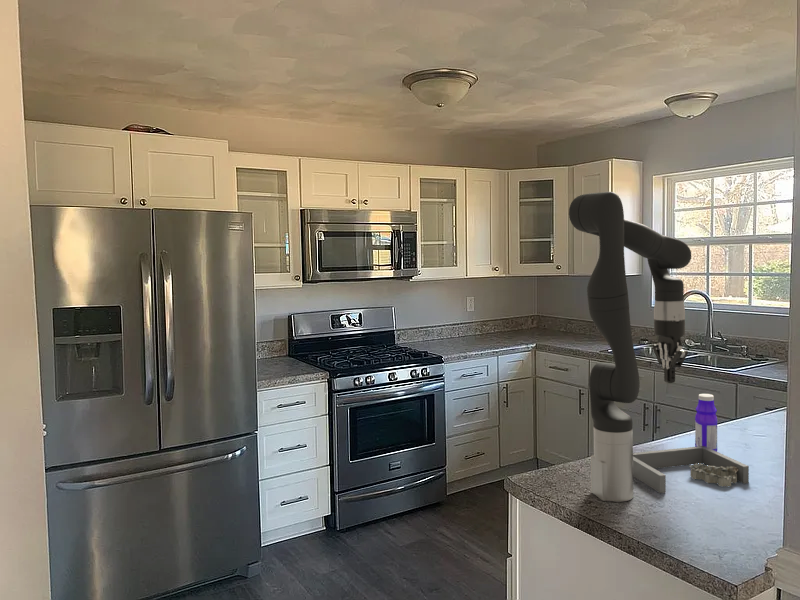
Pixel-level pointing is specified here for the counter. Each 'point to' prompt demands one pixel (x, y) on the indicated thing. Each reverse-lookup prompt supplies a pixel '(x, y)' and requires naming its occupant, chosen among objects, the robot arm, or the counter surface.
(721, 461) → the box
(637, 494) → the counter surface
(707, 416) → the bottle
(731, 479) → the egg carton
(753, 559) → the counter surface
